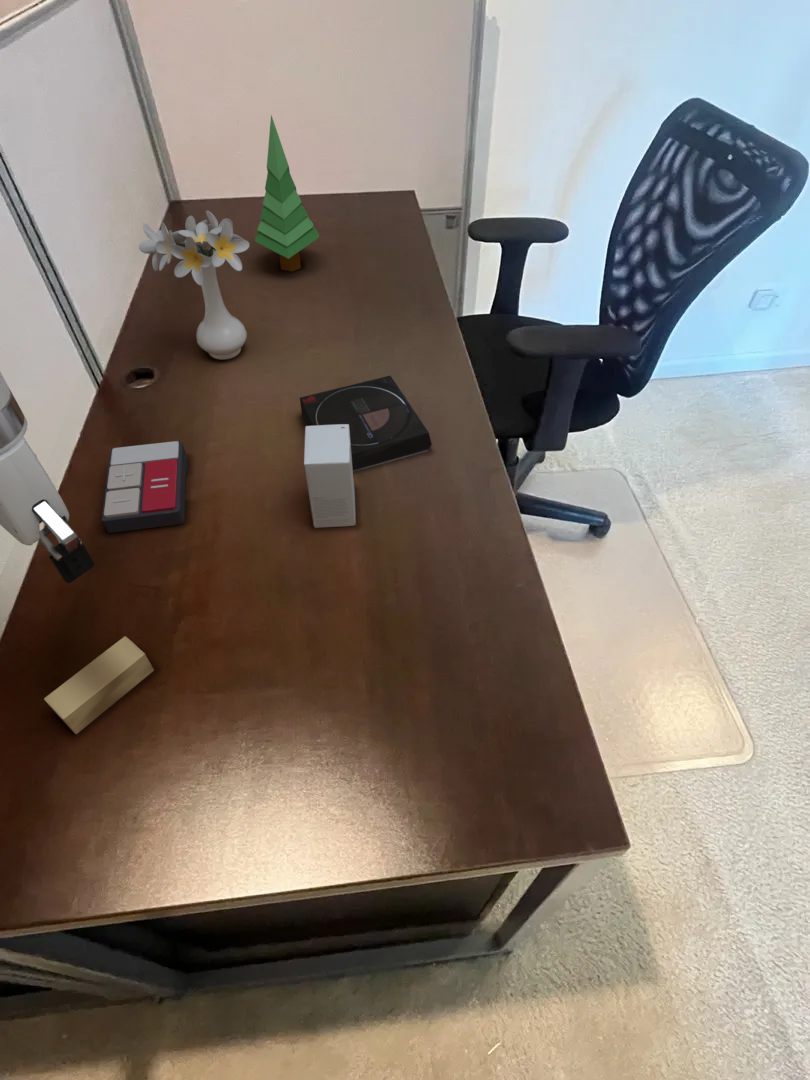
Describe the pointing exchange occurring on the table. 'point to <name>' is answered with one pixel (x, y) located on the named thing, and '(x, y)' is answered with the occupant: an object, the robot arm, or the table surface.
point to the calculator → (145, 487)
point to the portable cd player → (370, 421)
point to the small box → (329, 475)
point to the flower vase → (204, 275)
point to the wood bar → (99, 684)
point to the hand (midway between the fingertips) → (53, 550)
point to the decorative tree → (283, 210)
